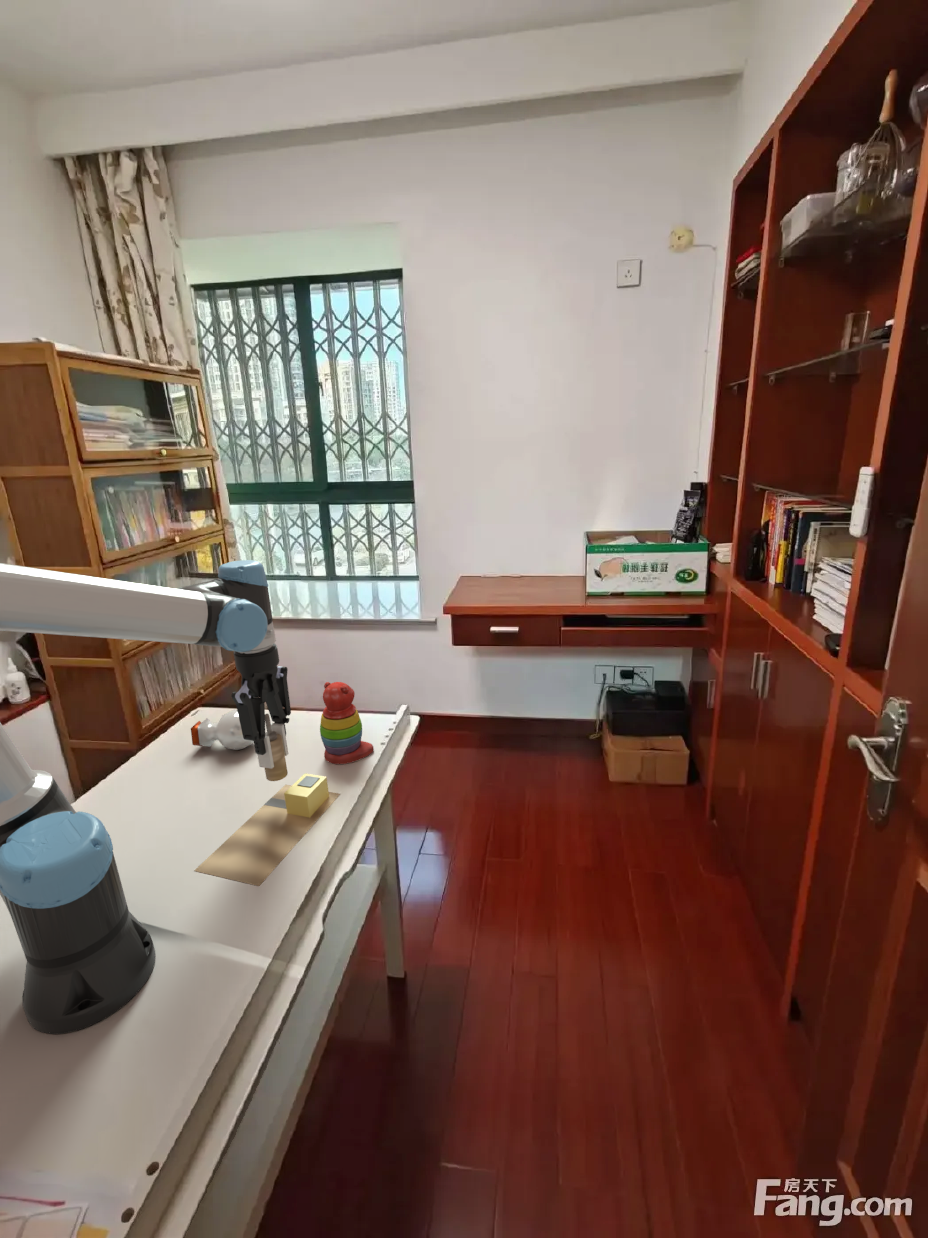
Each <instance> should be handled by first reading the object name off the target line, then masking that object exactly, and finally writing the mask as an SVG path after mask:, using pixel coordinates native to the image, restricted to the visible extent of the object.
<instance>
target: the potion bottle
mask: <svg viewBox="0 0 928 1238" xmlns="http://www.w3.org/2000/svg"><path fill="white" fill-rule="evenodd" d="M190 734H191V742H192V745H193V746H197V747H198V746H199V747H211V746H213V744H214V743H215V742H219V743H220V744H221V745H222V747H223V748H225V749H226V750H235V751H241V750H243V749H245V748H247V747H250V746H251V745H253V744H254V741H251V740H244V738H243V734H242V729H241V725H240V720H239V716H238V711H237V709H233V710H231V711H229V712H227V713H224V714H222V715H221V717H220V718H219V720H218V722H217V721H216V722H212V721H211V720H210V719H209V718H208V717H206V718H205V719H204V720H203V721H202V722H201V721H200V720H198V721H197V722H196V723H195V724H194V725H192V726H191V728H190Z"/></svg>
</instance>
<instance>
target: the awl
mask: <svg viewBox="0 0 928 1238" xmlns="http://www.w3.org/2000/svg"><path fill="white" fill-rule="evenodd" d="M271 723H272V721H271V716H270V713H265V730H266V731H265V736H269V739H270V745H271V751H272V757H273V763H274V767H273V768H272V769H270V768H264V773H265V778H266V780H267V781H270V782H278V781H281V780H283V779H285V778H286V777H287V776H288V767H287V760H286V756H285V754H284V748H283V742H282V736H281V735H280V734H277V733H276V732H275V731H272V728H271Z"/></svg>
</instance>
